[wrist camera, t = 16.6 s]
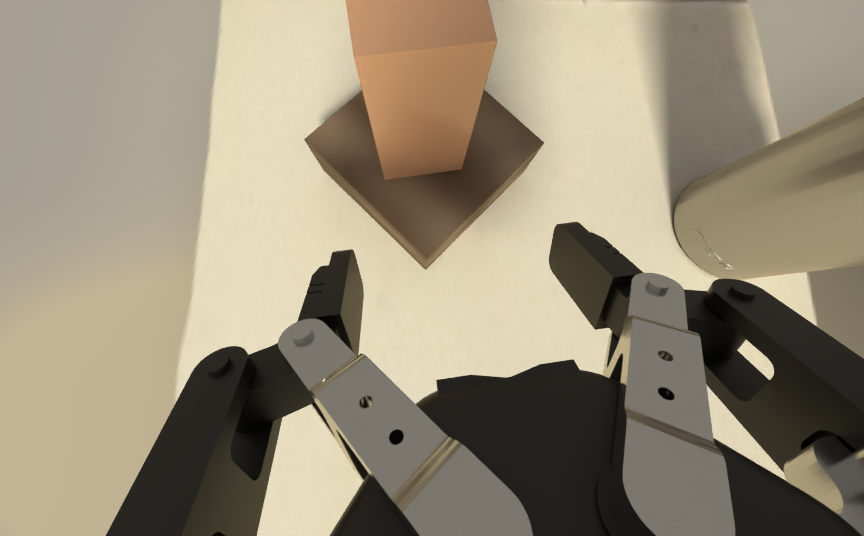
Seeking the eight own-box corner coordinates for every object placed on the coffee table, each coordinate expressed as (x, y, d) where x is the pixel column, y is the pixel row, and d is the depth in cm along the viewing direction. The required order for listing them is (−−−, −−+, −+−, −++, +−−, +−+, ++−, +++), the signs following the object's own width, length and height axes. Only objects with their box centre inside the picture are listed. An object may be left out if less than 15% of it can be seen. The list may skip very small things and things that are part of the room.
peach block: (448, 100, 22) (470, -73, 12) (461, 169, 21) (497, 40, 12) (373, 110, 22) (336, -62, 12) (384, 180, 21) (354, 56, 11)
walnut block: (424, 87, 28) (425, 37, 23) (521, 174, 27) (544, 142, 22) (325, 173, 26) (304, 139, 21) (425, 270, 25) (427, 258, 20)
